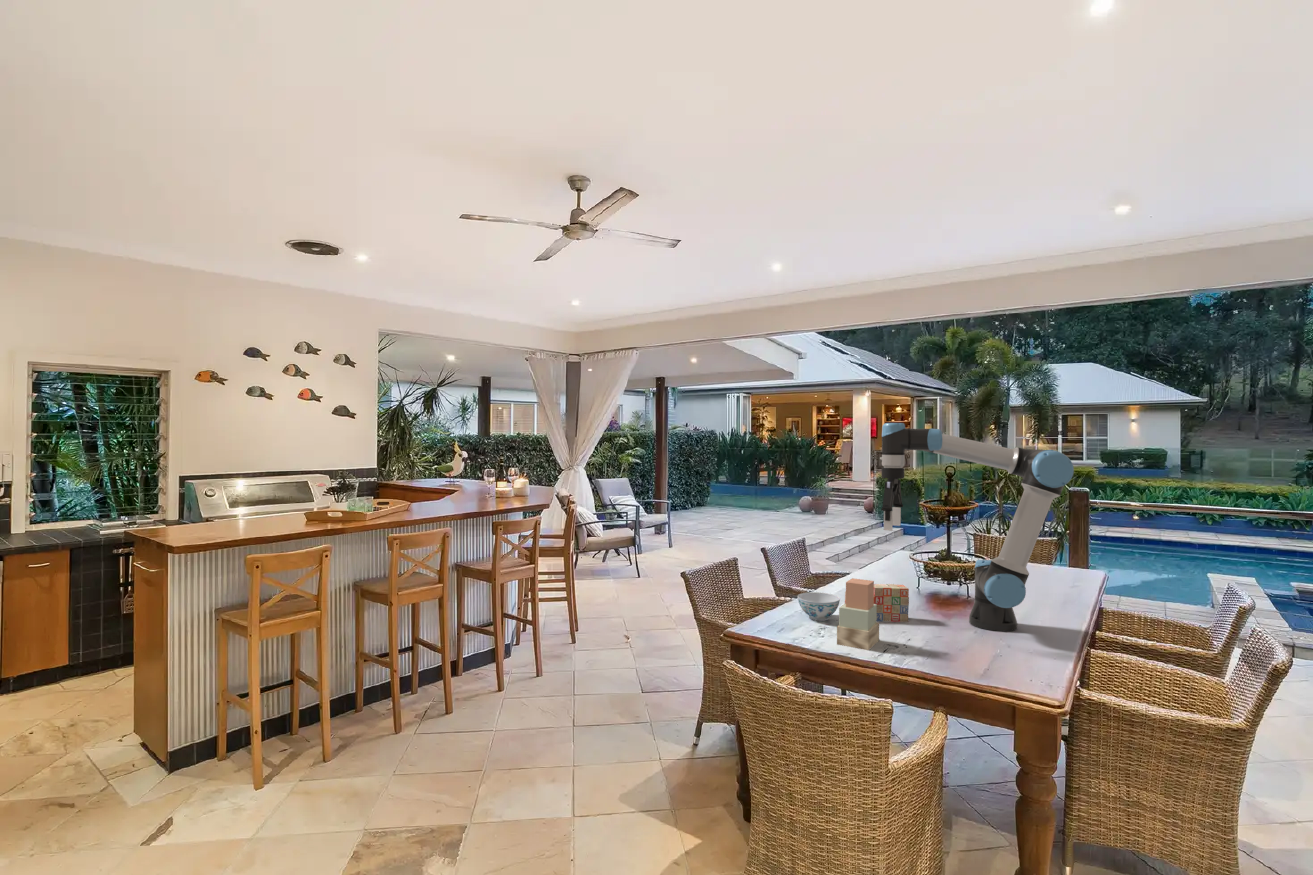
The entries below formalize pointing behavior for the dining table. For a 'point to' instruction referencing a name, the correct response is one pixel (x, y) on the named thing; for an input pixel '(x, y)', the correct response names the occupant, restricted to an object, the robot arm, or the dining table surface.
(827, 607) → the chinaware
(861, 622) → the tower top block
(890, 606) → the stack of blocks
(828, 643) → the dining table surface
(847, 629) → the tower base block
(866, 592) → the terracotta block
